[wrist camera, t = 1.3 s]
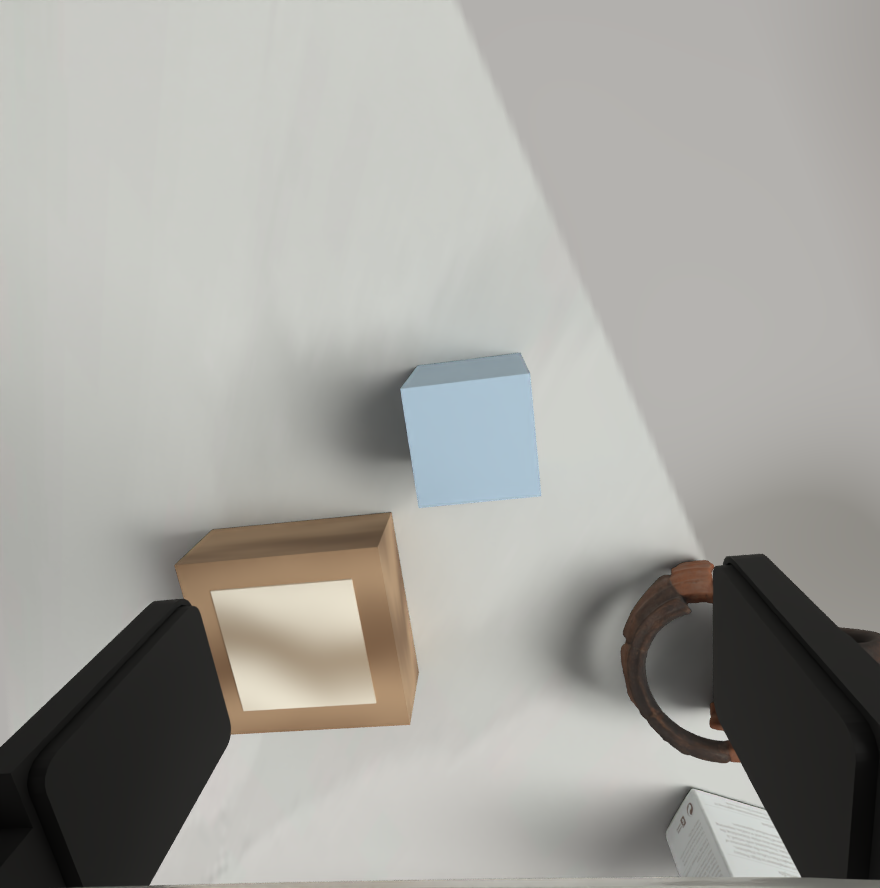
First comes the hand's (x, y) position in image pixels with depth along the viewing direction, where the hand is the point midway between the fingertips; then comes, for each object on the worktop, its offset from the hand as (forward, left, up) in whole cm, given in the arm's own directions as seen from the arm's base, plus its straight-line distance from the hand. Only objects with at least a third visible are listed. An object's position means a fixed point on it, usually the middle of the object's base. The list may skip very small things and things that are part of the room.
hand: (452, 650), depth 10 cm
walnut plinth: (+10, -10, -19) cm, 23 cm away
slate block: (0, 0, -19) cm, 19 cm away
